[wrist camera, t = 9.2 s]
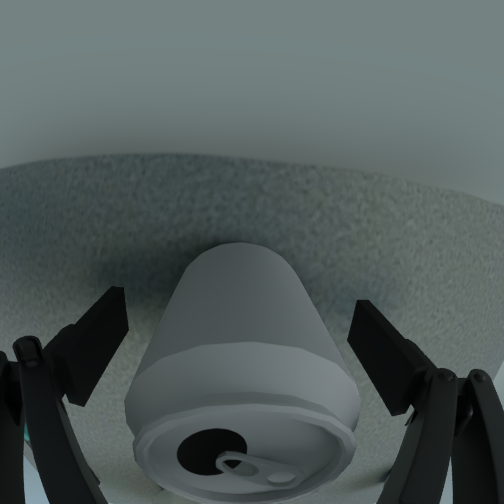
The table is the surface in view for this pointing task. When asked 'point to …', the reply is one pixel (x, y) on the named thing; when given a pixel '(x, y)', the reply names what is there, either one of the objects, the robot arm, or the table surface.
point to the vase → (172, 498)
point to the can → (242, 386)
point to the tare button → (26, 433)
